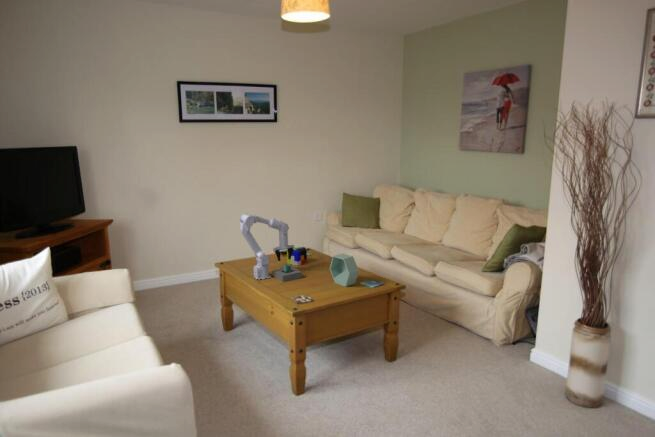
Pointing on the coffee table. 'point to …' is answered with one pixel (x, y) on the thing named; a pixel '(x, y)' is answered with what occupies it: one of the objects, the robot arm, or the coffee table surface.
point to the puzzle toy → (297, 257)
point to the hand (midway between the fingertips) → (284, 260)
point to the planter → (344, 269)
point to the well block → (287, 274)
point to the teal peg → (287, 268)
